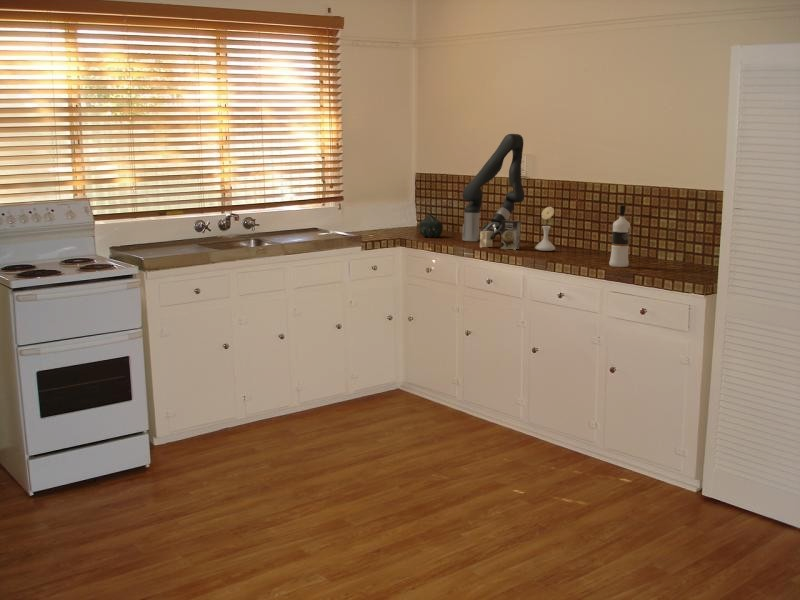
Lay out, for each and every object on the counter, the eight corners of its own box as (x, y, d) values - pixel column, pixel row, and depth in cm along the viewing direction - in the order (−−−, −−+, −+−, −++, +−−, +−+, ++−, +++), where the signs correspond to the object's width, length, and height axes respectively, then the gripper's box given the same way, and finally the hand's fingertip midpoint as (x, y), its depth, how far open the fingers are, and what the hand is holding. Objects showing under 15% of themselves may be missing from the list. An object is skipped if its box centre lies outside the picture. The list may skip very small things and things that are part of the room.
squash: (440, 227, 566) (427, 209, 560) (450, 230, 552) (436, 212, 546) (424, 242, 564) (410, 224, 558) (433, 245, 550) (419, 227, 545)
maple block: (479, 247, 506) (480, 231, 504) (485, 246, 509) (486, 231, 507) (485, 248, 502) (486, 232, 500) (492, 247, 505) (492, 231, 504)
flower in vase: (531, 249, 499) (533, 205, 495) (548, 249, 503) (551, 205, 499) (542, 252, 487) (544, 207, 483) (560, 252, 491) (563, 207, 487)
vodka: (612, 264, 442) (616, 204, 437) (631, 266, 437) (635, 205, 432) (606, 266, 434) (610, 204, 429) (624, 268, 429) (629, 206, 424)
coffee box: (500, 249, 499) (501, 220, 496) (504, 248, 504) (505, 219, 502) (515, 250, 494) (516, 221, 492) (519, 249, 500) (521, 220, 497)
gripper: (488, 212, 513) (474, 232, 507) (506, 213, 502) (491, 234, 496) (495, 220, 517) (480, 241, 511) (512, 222, 506) (498, 243, 501)
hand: (486, 238), depth 504 cm, fingers open, 8 cm apart
